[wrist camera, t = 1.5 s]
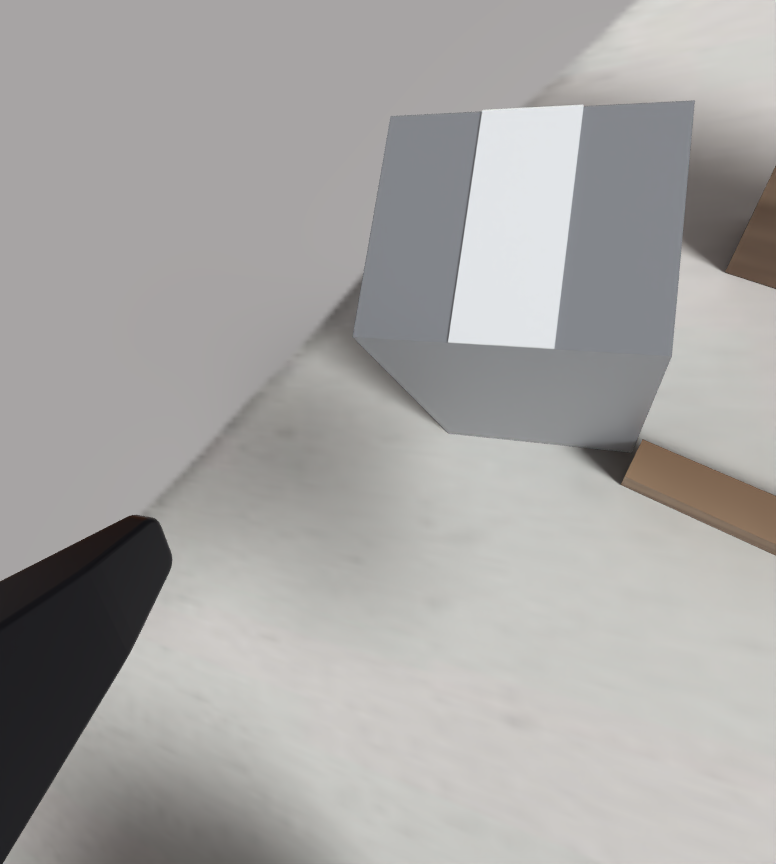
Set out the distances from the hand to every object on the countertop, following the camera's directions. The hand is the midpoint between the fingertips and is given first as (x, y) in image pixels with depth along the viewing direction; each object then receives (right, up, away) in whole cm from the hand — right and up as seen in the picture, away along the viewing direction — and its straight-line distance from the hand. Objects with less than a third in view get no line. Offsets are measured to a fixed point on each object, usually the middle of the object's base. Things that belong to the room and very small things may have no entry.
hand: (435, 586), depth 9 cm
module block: (+5, +4, +13) cm, 14 cm away
